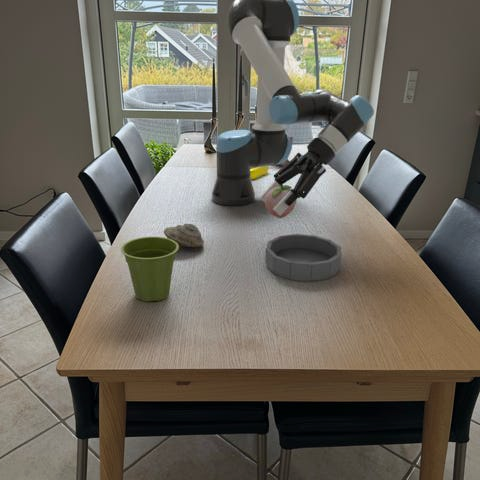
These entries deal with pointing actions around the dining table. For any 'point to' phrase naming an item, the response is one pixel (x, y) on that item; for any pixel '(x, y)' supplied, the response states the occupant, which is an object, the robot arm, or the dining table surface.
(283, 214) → the decorative fruit
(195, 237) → the fossilized seashell
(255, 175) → the element tile
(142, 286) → the plant pot
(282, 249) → the bowl
